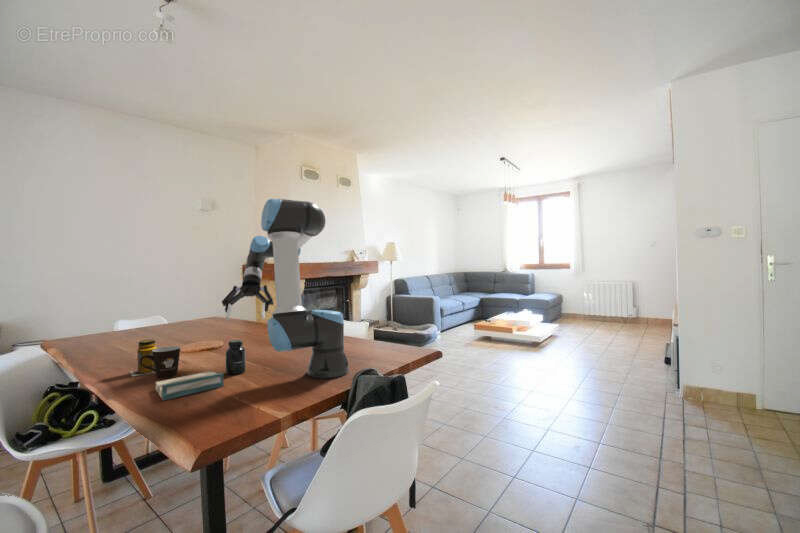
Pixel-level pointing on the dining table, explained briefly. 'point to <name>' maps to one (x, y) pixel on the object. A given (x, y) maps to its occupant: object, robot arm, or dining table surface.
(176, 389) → the teal and cream book
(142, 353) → the condiment
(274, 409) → the dining table surface
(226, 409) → the dining table surface
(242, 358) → the supplement bottle
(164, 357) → the coffee mug
